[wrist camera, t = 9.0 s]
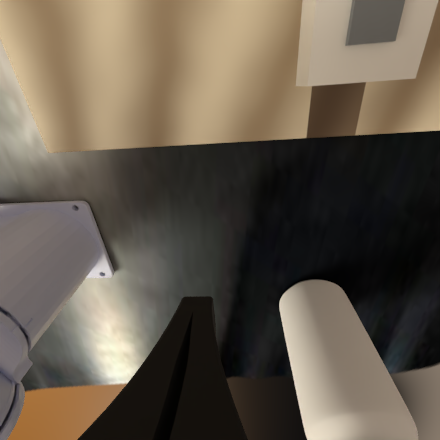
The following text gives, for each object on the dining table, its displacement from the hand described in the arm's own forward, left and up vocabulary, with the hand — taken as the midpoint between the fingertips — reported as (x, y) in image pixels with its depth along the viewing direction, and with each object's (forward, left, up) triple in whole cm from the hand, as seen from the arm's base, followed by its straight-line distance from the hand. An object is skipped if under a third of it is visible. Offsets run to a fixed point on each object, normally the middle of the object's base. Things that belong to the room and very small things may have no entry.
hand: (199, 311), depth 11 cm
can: (+9, -10, -10) cm, 17 cm away
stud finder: (+8, +12, -8) cm, 17 cm away
